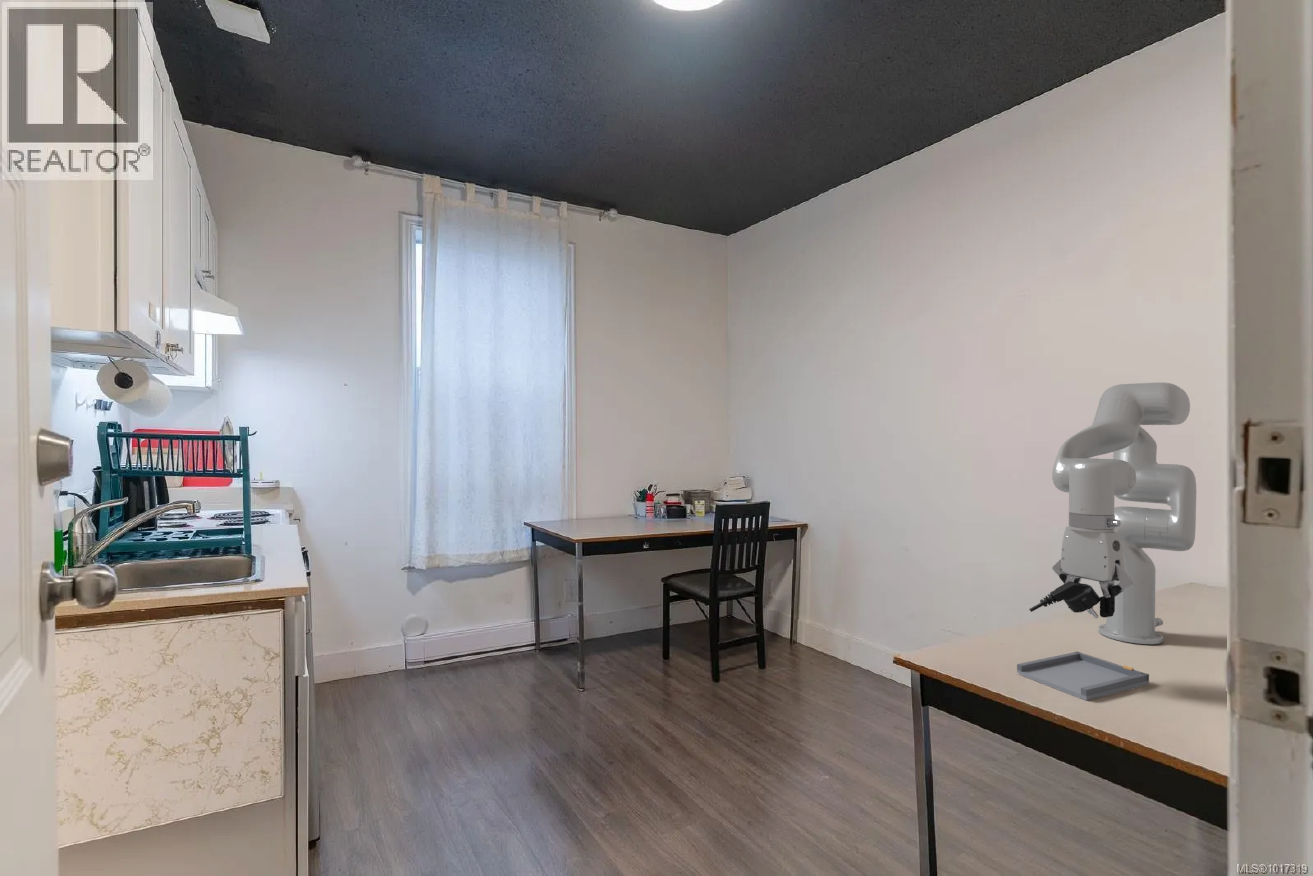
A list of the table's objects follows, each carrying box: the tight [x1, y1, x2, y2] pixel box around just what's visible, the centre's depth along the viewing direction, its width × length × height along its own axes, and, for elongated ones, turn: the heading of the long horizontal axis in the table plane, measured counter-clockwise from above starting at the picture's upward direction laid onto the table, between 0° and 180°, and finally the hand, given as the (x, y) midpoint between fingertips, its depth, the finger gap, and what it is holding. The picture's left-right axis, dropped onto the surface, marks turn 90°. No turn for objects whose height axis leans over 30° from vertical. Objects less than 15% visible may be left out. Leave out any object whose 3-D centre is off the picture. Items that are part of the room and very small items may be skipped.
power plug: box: [1029, 581, 1101, 619], centre depth 126 cm, size 6×8×12 cm
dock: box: [1016, 651, 1150, 702], centre depth 126 cm, size 19×14×2 cm
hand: (1090, 611), depth 126 cm, fingers closed on power plug, 5 cm apart
